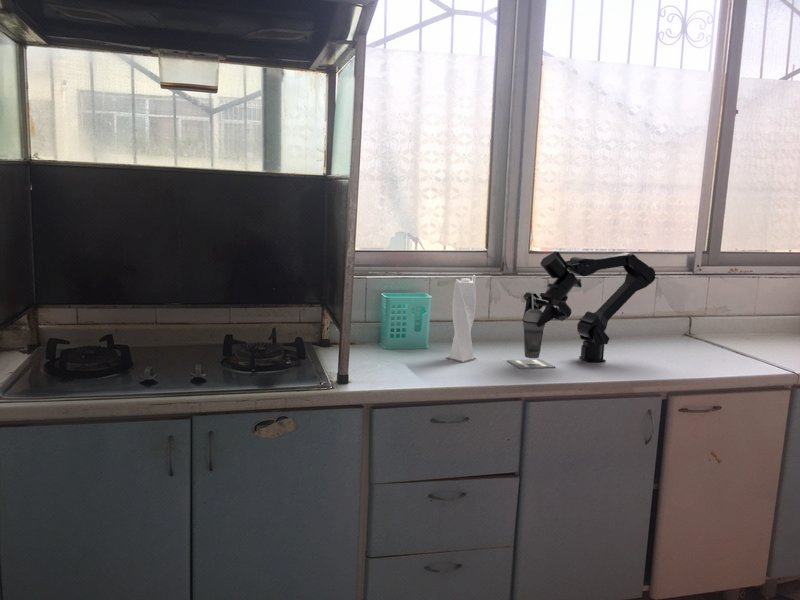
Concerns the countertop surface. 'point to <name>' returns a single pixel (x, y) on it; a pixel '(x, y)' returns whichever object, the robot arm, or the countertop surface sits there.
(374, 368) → the countertop surface
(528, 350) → the beverage cup
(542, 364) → the letter card
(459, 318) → the skyscraper
